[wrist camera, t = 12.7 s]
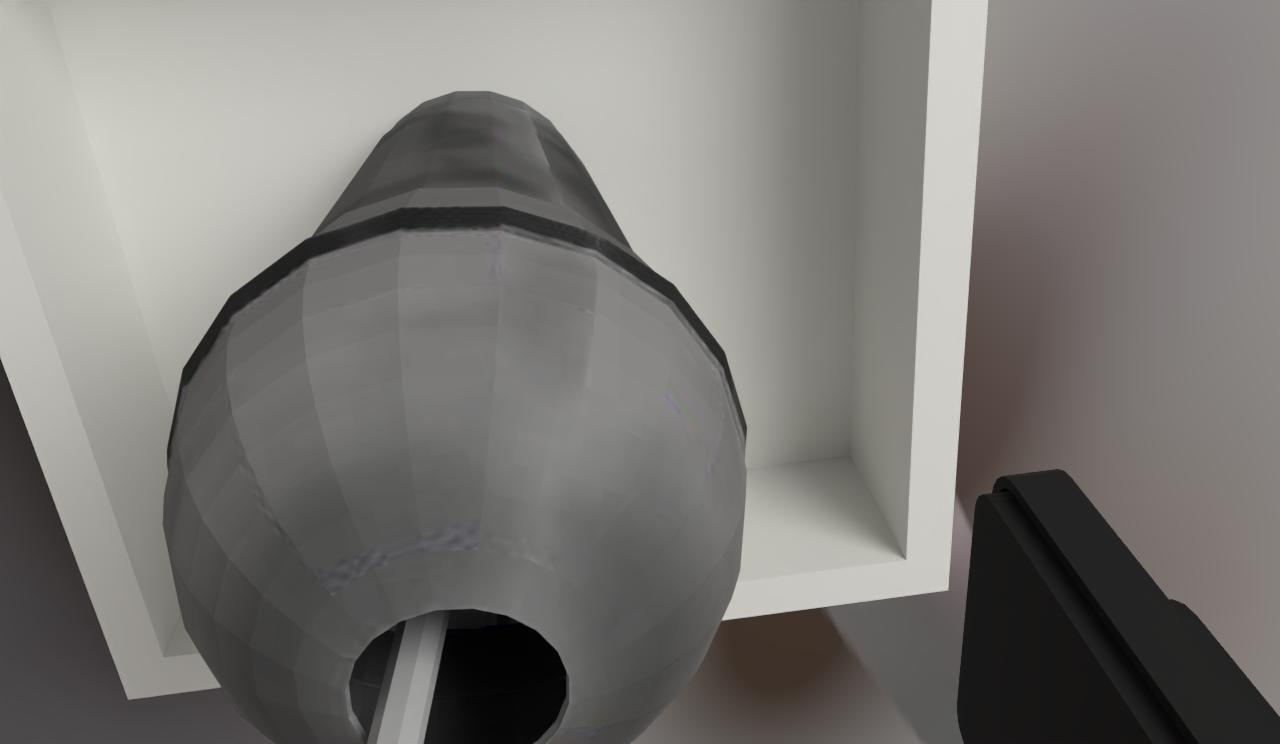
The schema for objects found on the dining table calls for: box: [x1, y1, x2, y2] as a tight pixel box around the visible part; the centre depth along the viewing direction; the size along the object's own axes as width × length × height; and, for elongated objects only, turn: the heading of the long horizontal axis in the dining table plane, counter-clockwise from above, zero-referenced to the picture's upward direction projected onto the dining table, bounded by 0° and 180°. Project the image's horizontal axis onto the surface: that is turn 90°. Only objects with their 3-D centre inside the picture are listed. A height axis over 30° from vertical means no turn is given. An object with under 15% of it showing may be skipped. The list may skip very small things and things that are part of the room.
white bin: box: [0, 0, 988, 700], centre depth 23 cm, size 18×18×5 cm
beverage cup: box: [163, 91, 747, 744], centre depth 16 cm, size 7×7×20 cm
